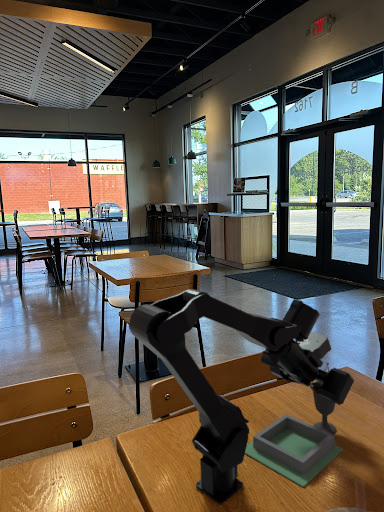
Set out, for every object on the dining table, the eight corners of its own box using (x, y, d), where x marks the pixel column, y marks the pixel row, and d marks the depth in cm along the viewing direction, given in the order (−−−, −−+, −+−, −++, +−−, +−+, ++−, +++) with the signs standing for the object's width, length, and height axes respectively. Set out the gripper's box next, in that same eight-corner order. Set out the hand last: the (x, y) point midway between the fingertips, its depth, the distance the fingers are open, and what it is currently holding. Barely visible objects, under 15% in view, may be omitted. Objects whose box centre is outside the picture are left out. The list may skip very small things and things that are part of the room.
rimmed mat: (303, 487, 69) (303, 473, 69) (240, 451, 80) (239, 438, 80) (342, 449, 79) (342, 437, 78) (281, 422, 90) (281, 410, 90)
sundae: (335, 420, 90) (335, 359, 88) (344, 437, 83) (344, 372, 81) (306, 419, 90) (306, 359, 88) (313, 436, 84) (312, 372, 82)
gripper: (348, 335, 73) (380, 374, 80) (277, 315, 89) (309, 349, 96) (321, 386, 70) (357, 421, 77) (252, 356, 85) (288, 387, 93)
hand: (325, 391), depth 86 cm, fingers open, 9 cm apart
